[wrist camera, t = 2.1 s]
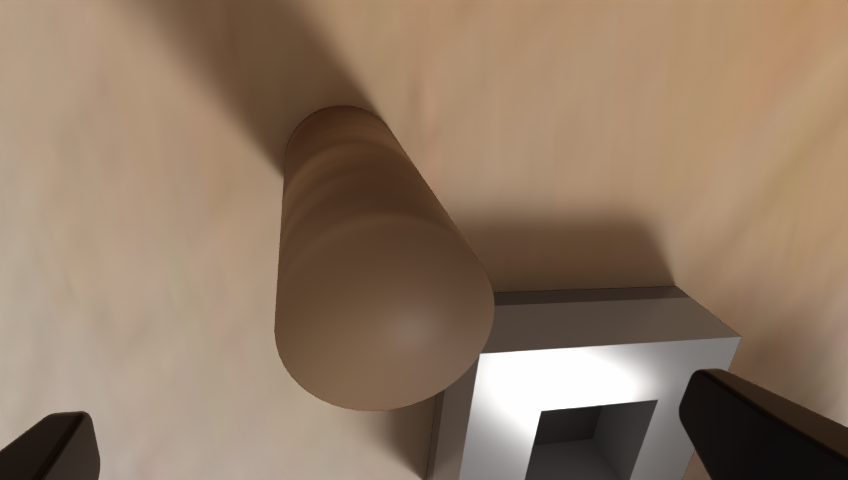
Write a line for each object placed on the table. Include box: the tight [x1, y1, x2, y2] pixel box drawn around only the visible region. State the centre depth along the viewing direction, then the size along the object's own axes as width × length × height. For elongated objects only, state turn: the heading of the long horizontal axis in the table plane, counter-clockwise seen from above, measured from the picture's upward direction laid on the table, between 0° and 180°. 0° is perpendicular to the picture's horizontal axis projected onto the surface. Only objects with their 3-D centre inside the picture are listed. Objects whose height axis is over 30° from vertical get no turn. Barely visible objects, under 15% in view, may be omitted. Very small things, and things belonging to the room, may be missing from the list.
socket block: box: [426, 286, 742, 480], centre depth 23 cm, size 11×11×4 cm
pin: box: [274, 106, 495, 411], centre depth 14 cm, size 4×4×10 cm
